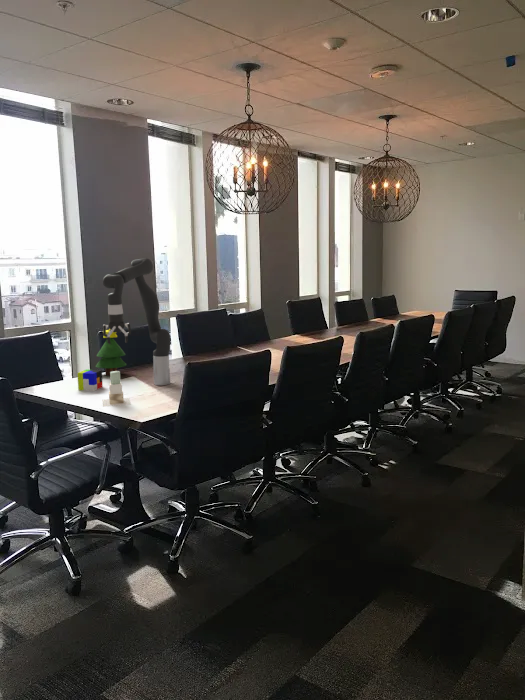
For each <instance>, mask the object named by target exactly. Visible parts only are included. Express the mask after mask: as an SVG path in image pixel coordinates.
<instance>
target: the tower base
mask: <svg viewBox="0 0 525 700" xmlns="http://www.w3.org/2000/svg"><path fill="white" fill-rule="evenodd" d="M108 396H109V398H108V399H109V402H110V404H119V403H124V399H123V398H124V391H123V390H122V394H110V391H108Z"/></svg>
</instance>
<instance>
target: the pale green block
mask: <svg viewBox="0 0 525 700" xmlns="http://www.w3.org/2000/svg"><path fill="white" fill-rule="evenodd" d="M109 378H110V382H111V384H120V383H122V381H121V371H119V370H117V371H112V372H110V376H109Z"/></svg>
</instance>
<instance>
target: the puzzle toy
mask: <svg viewBox="0 0 525 700" xmlns="http://www.w3.org/2000/svg"><path fill="white" fill-rule="evenodd" d="M103 387H104V386H103V370H102V369H84V370H81V371H79V372H77V389H78V391H90V392H91V391H93V392H95V391H96V390H99V389H101V388H103Z"/></svg>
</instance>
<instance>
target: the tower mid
mask: <svg viewBox="0 0 525 700" xmlns="http://www.w3.org/2000/svg"><path fill="white" fill-rule="evenodd" d="M122 391H123V384H122V382H121V383H120V384H111V381H110V382H109V392H110V394H122Z"/></svg>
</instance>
